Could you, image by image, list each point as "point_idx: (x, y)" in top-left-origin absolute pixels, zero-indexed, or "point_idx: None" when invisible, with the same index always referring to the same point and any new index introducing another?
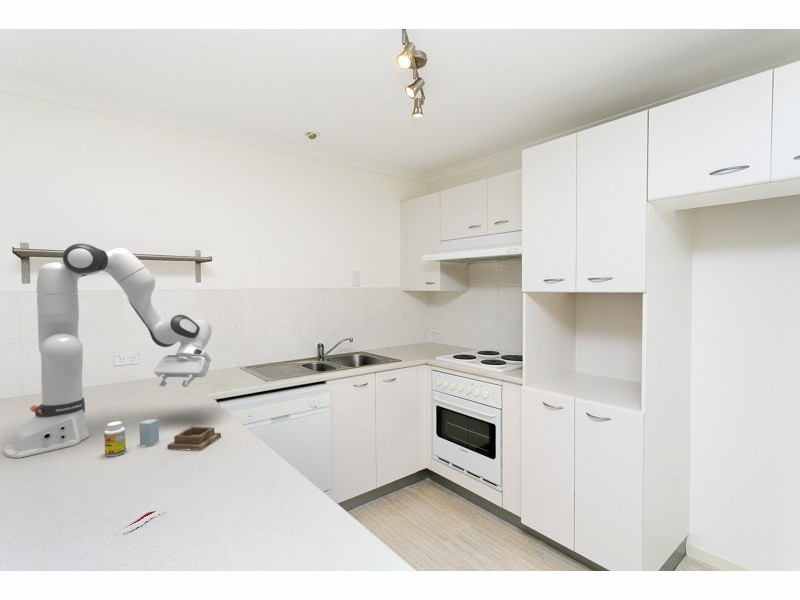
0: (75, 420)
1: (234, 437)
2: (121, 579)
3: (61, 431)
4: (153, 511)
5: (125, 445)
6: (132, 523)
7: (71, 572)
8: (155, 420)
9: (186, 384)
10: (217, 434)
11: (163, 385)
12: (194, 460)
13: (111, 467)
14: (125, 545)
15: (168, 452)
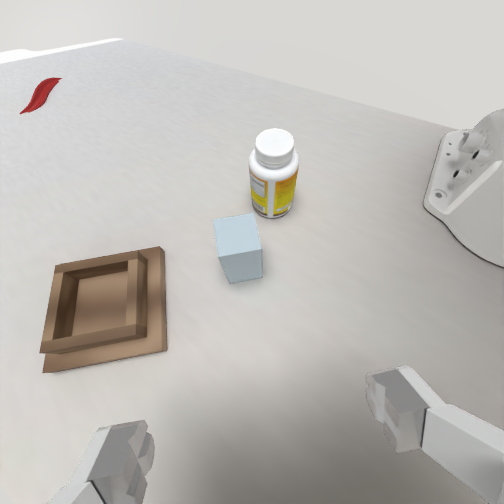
0: (495, 170)
1: (4, 384)
2: (12, 55)
3: (477, 165)
4: (31, 99)
5: (257, 205)
6: (42, 81)
7: (63, 49)
8: (221, 247)
9: (98, 444)
10: (48, 356)
11: (370, 388)
12: (60, 227)
13: (215, 163)
14: (37, 74)
15: (149, 240)
